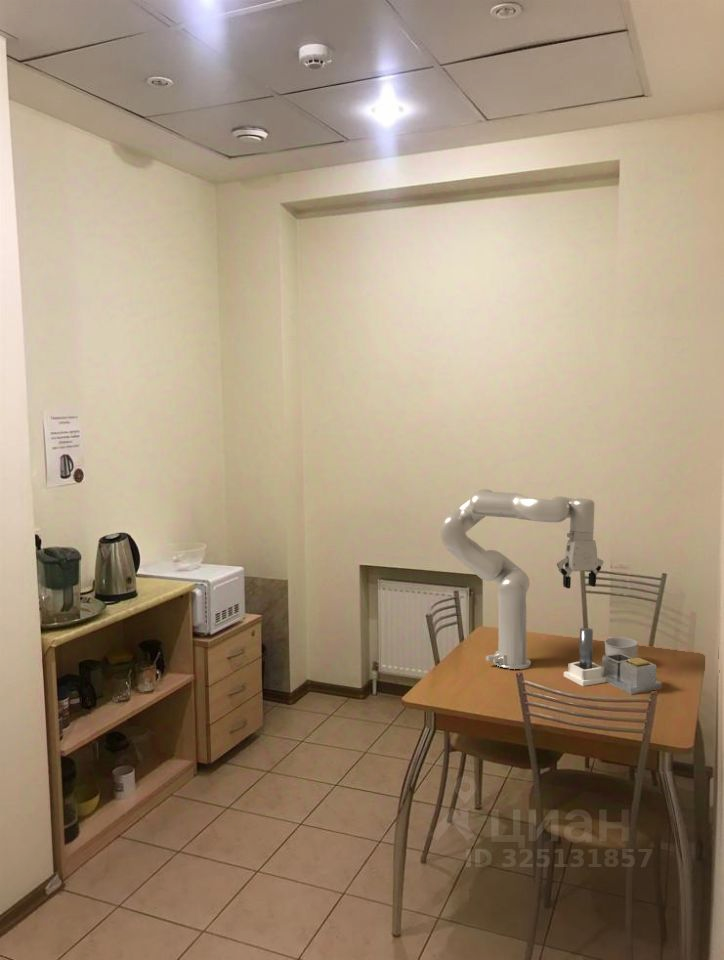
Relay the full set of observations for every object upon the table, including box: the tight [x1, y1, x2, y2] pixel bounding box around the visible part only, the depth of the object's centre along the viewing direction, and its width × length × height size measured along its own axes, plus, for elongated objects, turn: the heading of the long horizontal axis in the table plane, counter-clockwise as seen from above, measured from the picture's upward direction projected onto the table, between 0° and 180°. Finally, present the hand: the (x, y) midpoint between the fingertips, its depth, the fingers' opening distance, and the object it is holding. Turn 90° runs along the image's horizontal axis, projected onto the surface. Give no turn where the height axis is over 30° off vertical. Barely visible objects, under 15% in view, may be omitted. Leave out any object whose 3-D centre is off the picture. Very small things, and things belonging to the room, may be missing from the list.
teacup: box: [604, 635, 639, 658], centre depth 268 cm, size 14×11×8 cm
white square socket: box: [563, 661, 606, 687], centre depth 253 cm, size 10×10×4 cm
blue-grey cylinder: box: [578, 627, 594, 670], centre depth 252 cm, size 4×4×15 cm
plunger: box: [628, 657, 650, 667], centre depth 244 cm, size 4×4×6 cm
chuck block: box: [601, 653, 663, 695], centre depth 249 cm, size 12×17×8 cm
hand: (579, 586), depth 258 cm, fingers open, 9 cm apart
